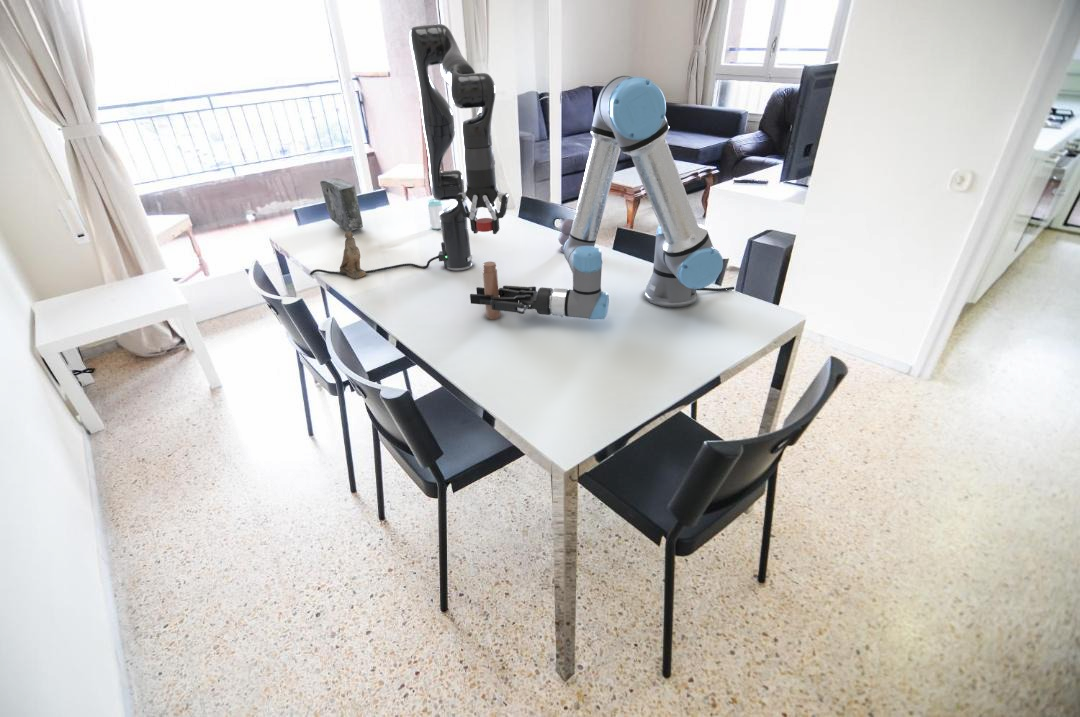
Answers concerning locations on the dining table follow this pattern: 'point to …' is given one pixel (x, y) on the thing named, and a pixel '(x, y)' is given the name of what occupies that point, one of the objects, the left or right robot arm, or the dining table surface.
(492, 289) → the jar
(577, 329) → the dining table surface
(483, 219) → the lid
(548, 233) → the dining table surface
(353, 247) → the brown carved statuette
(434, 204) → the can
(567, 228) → the mauve bulbous figurine
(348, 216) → the concrete block
